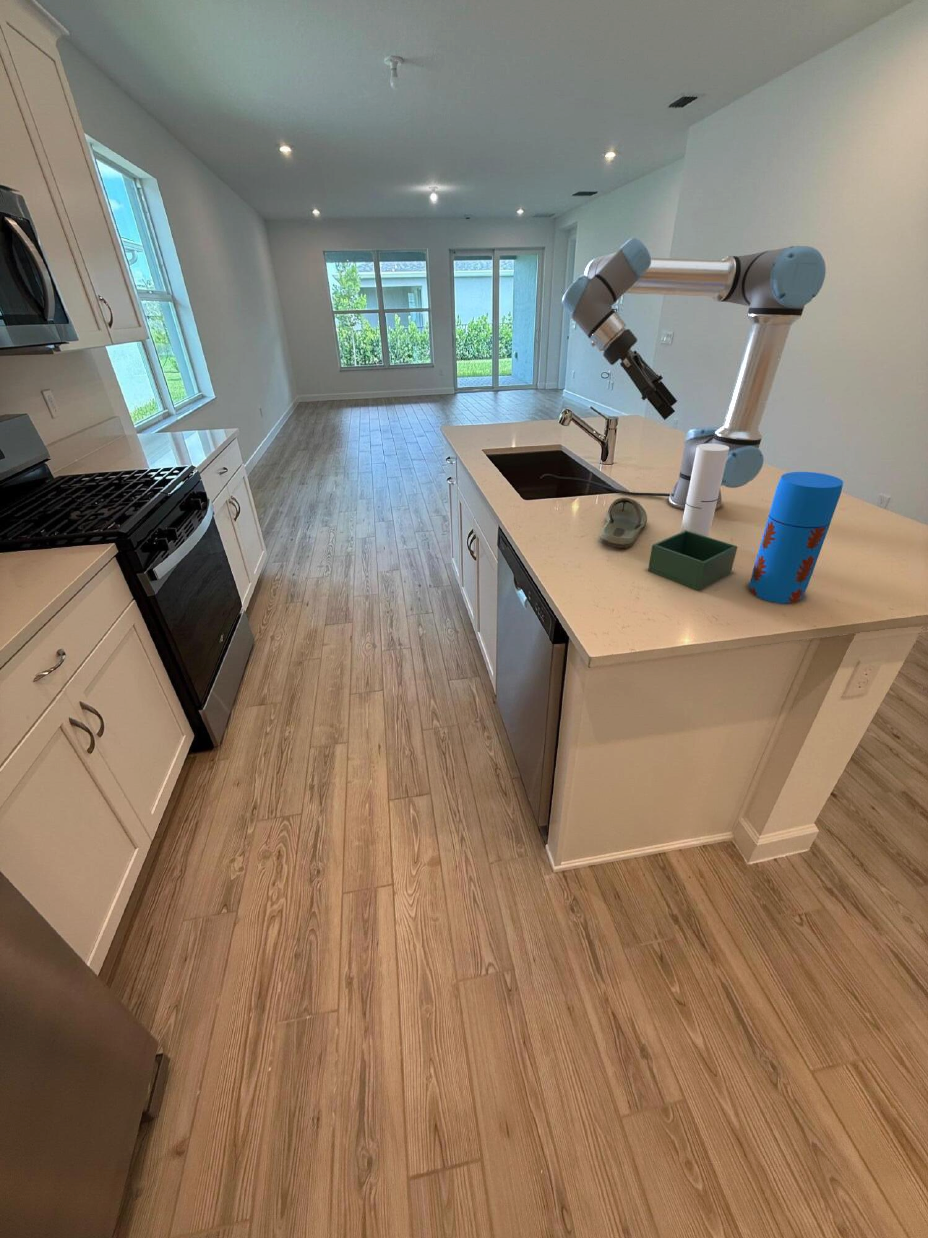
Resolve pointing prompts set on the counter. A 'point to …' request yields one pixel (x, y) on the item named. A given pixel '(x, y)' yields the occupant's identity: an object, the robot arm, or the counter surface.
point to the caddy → (692, 559)
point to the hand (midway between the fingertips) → (671, 410)
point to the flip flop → (623, 523)
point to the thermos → (794, 535)
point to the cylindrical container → (704, 488)
